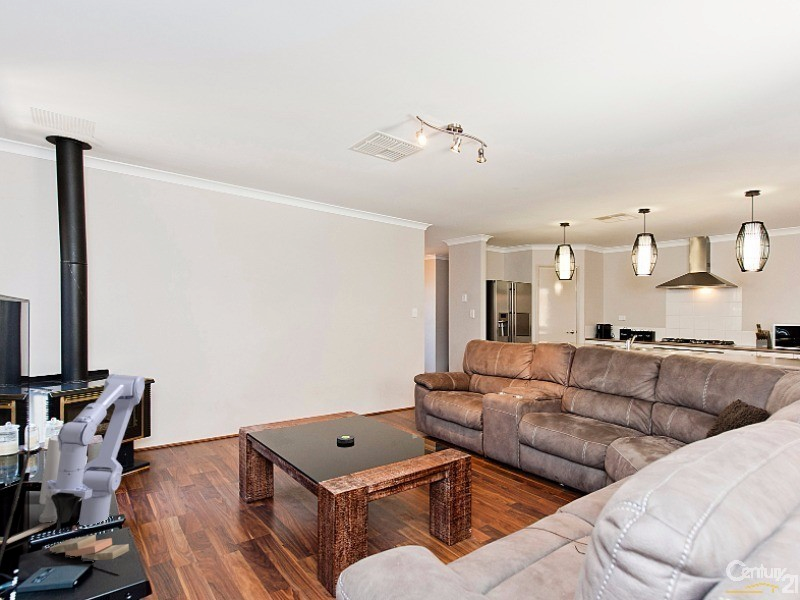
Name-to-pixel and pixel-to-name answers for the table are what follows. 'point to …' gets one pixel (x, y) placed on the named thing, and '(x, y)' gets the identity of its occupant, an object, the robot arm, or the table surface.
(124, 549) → the birch domino
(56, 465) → the candle
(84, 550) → the terracotta domino
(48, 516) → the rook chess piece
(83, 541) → the birch domino
